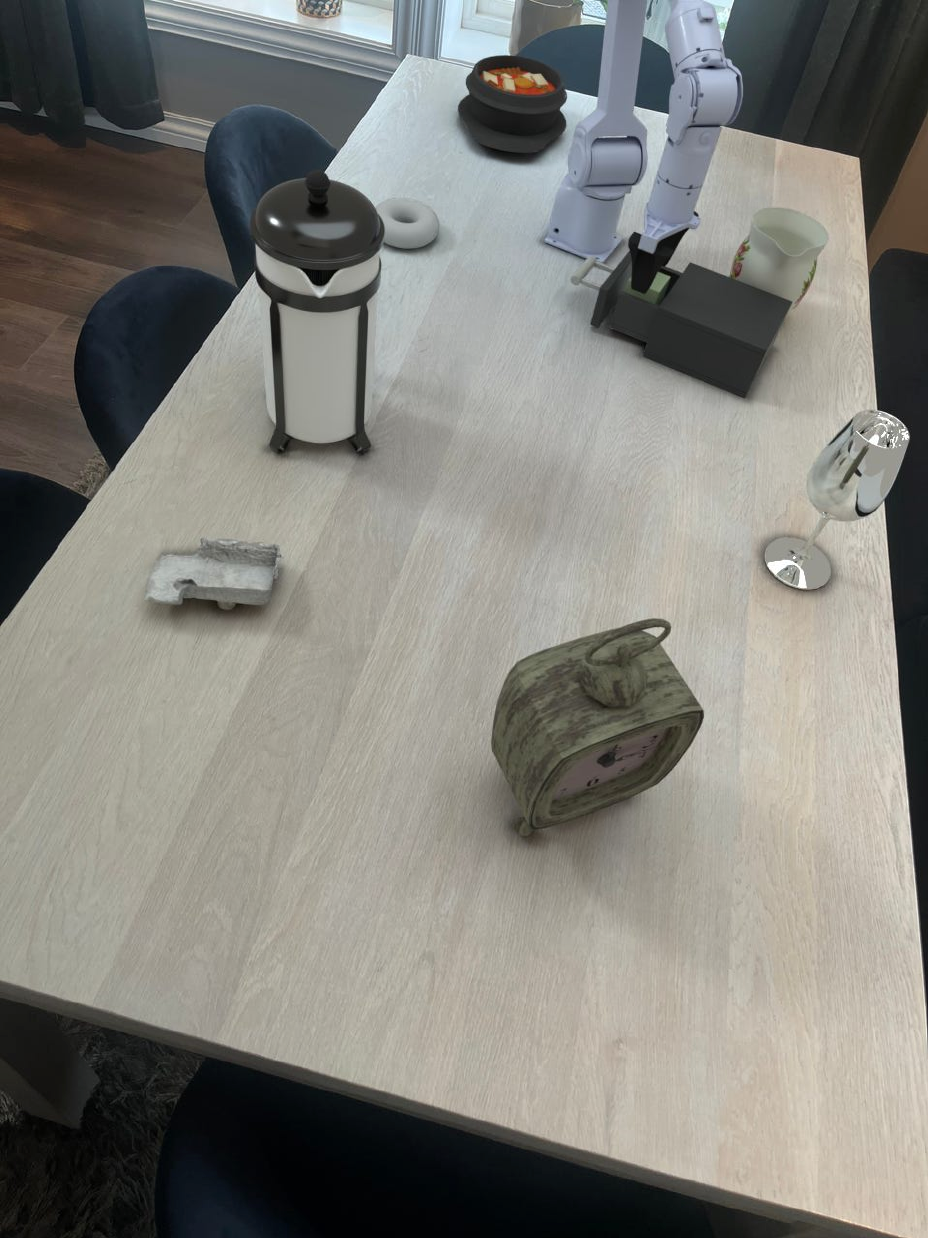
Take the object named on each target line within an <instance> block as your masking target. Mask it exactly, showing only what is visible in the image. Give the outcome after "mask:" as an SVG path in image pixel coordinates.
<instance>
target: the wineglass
mask: <svg viewBox="0 0 928 1238" xmlns="http://www.w3.org/2000/svg"><path fill="white" fill-rule="evenodd" d="M910 440H911V436H910V432H909V430H908V428H907V427H906V425H905V423H903V422H902V421H901V420H900V419H898V418H897V417H896V416H894V415H892V414H891V413H890V414H889V413H888V412H885V411H881V410H877V409H864V410H861V411H858V412H857V413H855V414H854V416H853V417H852V418H850V419H849V421H848V422H847V423H846V424H844V426H842V427H841V429H840V430H839V431H838V432H837V433H836V434H835V435H834V436H833V437H832V439H831V440H830V441H829V442H828V443H827V444H826V445H825V446H824V448H823V449H822V450H821V451H820V453H818V456H817V457H816V458H815V460H814V461H813V463H812V465H811V467H810V469H809V472H808V474H807V476H806V477H807V479H806V492H807V495H808V499H809V502H810V503H811V505H812V506H813V508H814V509H815V510H816V511H817V512H818V513H819V514H820V515H821V516H820V519H819V521H818V523H816V526H815V528H814V530H813V531H812V533H811V535H810V536H809V538H808V539H807V541H806V540H804V539H801V538H797V537H791V536H790V537H789V536H788V537H785V536H784V537H779V538H776V539H774V540H772V541H771V542H769V544H768V545H766V548H765V550H764V553H763V554H764V562H765V565H766V567H767V569H768V570H769V572H770V573H771V574H772V575H773V576H774V577H775V578H776V579H777V580H778V581H780V582H782V583H783V584H784V585H787V586H789V587H791V588H795V589H798V590H804V591H808V590H809V591H812V590H816V589H817V590H818V589H819V588H821V587H824V586H825V585H826V584H827V583H828V581H829V580H830V578H831V575H832V574H831V573H832V568H831V564H830V562H829V560H828V558H827V556H826V555H825V554H824V553H823V552H822V551H821V550H820V549H819V548H817V546H816V545H814V544H815V543H816V540H817V539H818V537H819V536H820V534H821V533H822V531H823V530H824V528H825V527H826V525H827V524H828V523H829V522H830V521H836V522H843V523H846V522H847V523H851V522H855V521H858V520H862V519H864V518H867V517H868V516H870V515H871V514H873V513H875V512H876V511H877V510H878V509H879V508H880V506H881V505H882V504H883V503H884V501H885V500H886V499H887V497H888V495H889V494H890V491H891V490H892V487H893V486H894V483H895V481H896V478H897V476H898V474H899V472H900V469H901V466H902V464H903V460H904V457H905V455H906V452H907V449H908V445H909V443H910Z"/></svg>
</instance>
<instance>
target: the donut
mask: <svg viewBox="0 0 928 1238" xmlns="http://www.w3.org/2000/svg"><path fill="white" fill-rule="evenodd" d="M374 207H375V209H376V211H377V213H378V214H379V216H380V217H381V219H382V221H383V223H384V227H385V237H384V244H386V245H388V246H391V247H394V248H399V249H404V250H405V249H407V250H408V249H418V248H423V247H425V246H426V245H429V244H431V243H432V242H433V241H434V240H435V239H436V238H437V236H438V234H439V230H440V221H439V217H438V215H437V213H436V212H435V211H434V209H433V208H431V206H430V205H428V204H426V203H424V202H422V201H421V200H417V199H414V198H407V197H394V198H388V199H385V200H384V201H381V202H380V203H378V204H377V205H375V206H374Z"/></svg>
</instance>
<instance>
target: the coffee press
mask: <svg viewBox="0 0 928 1238" xmlns="http://www.w3.org/2000/svg"><path fill="white" fill-rule="evenodd" d="M375 207H376V206H375V205H374V203H372V201H371V200H370V199H369V198H368V197H367V196H366V195H365V194H364V193H363V192H362V191H360V190H358V189H357V188H355V187H353V186H351V185H349V184H346V183H344V182H340V181H338V180H334V179H330V178H329V176H328V175H327V173H326V172H325V171H323V170H321V169H313V170H311V171H310V172H308V174H307V176H306V177H300V178H295V179H290V180H287V181H284V182H281V183H279V184H277V185H275V186H274V187H272V188H270V189H269V190H268V191H266V192H265V193H264V194H263V196H262V197H261V198H260V199H259V201H258V204H257V205H256V206H255V208H254V209H253V211H252V213H251V215H250V218H249V229H250V235H251V238H252V240H253V242H254V243H255V251H254V254H253V263H254V276H255V281H256V283H257V287H258V302H259V315H260V328H261V329H260V330H261V332H260V333H261V346H262V361H263V374H264V375H263V377H264V389H265V390H264V391H265V401H266V402H265V403H266V409H267V413H268V415H269V418H270V419H271V421H272V422H273V424H274V425H275V426H274V427H275V428H274V431H273V434H272V436H271V439H270V440H269V443H268V444H269V445H268V446H269V448H271V449H272V450H273V451H274V452H276V453H278V454H283V453H284V452H285V451H286V450H287V448H288V447H289V445H290V443H291V441H292V440H293V439H296V440H299V441H302V442H306V443H313V444H330V443H337V442H339V441H343V440H346V439H347V440H348V441H349V443H350V444H351V446H352V447H353V449H354V451H355V452H356V453H357V454H358V455H364V453H366V452H367V451H369V450H370V449H371V448H372V443H371V441H370V439H369V436H368V434H367V432H366V428H365V426H366V424H367V423H368V421H369V419H370V417H371V414H372V407H373V395H374V394H373V393H374V376H375V358H376V357H375V355H376V335H377V315H378V297H379V294H378V293H379V288H380V286H381V280H382V258H381V255H380V254H381V249H382V247H383V245H384V244H385V242H384V237H385V227H384V223H383V221H382V219H381V217H380V216H379V214H378V213H377V211H376V209H375Z"/></svg>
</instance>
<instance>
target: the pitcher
mask: <svg viewBox="0 0 928 1238" xmlns="http://www.w3.org/2000/svg"><path fill="white" fill-rule="evenodd" d="M750 223H751V224H750V229H749V233H748V235H747V236H746V237H745V239H744V240H743V241H742V242H741V244H740V246H739V247H738V249H737V251H736V252H735V255H734V257H733V259H732V263H731V266H730V271H729V276H728V277H730V278H733V279H735V280H738V281H740V282H743V283H746V284H748V285H751V286H753V287H756V288H758V289H761V290H764V291H766V292H769V293H771V294H774V295H777V296H779V297H782V298H784V299H787V300H790V301H792V302H793V303H792V305H791V307H790V309H789V311H788V313H787V316H789V315H790V314H791V313H792V312H793V311H794V310H795V309H796V308H797V307H798V305H799V304H800V303H801V302H802V300H803V299H804V297H805V296H806V294H807V293H808V291H809V289H810V288H811V285H812V282H813V280H814V277H815V275H816V270H817V265H818V258H819V256H820V254H821V253H822V251H823V250H824V248H825V247H826V246H827V244H828V242H829V241H830V234H829V232H828V230H827V229H826V227H825V226H824V225H823V223H821V222H820V221H819V220H817V219H816V218H814V217H813V216H811V215H808V214H807V213H805V212H802V211H799V210H796V209H792V208H788V207H783V206H782V207H781V206H767V207H763V208H761V209H758V210H757V211H756V212H754V213H753V215H752V218H751V222H750Z"/></svg>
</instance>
